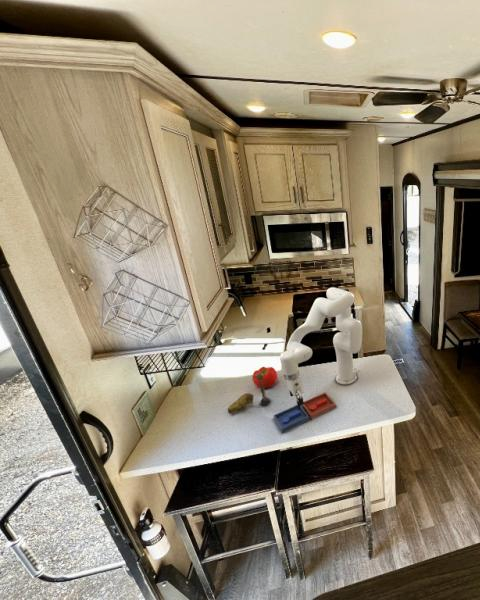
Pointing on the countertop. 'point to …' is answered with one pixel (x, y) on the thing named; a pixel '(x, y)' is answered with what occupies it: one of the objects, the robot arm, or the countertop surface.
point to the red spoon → (318, 404)
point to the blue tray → (292, 423)
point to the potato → (241, 403)
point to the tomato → (266, 377)
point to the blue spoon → (291, 417)
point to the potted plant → (262, 390)
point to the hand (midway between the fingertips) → (297, 400)
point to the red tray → (321, 409)
